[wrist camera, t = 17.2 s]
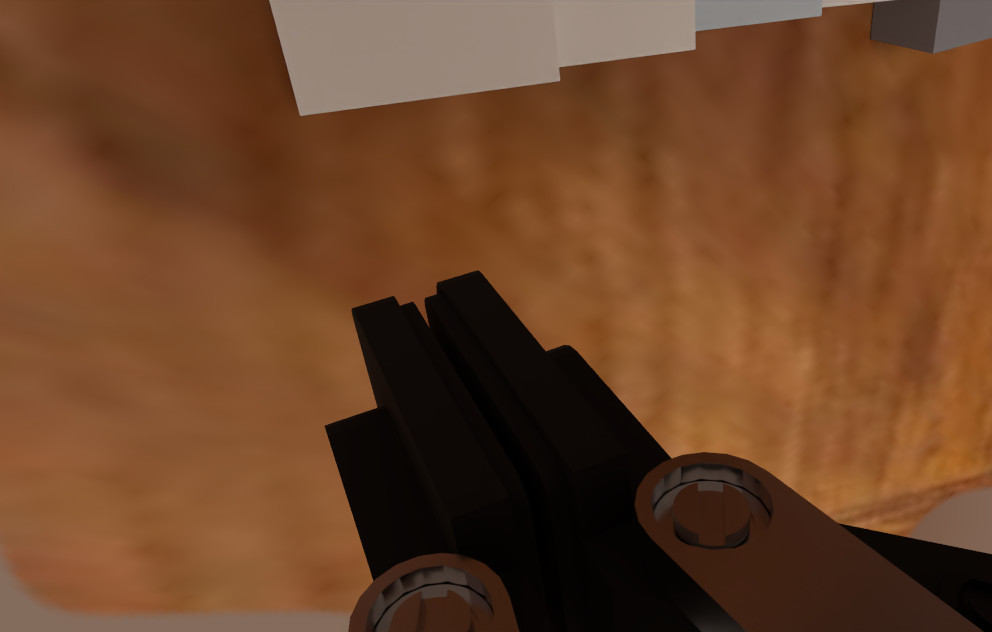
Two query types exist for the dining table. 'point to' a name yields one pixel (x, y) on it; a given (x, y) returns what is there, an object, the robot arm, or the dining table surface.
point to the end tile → (412, 49)
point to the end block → (932, 23)
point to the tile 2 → (621, 29)
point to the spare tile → (751, 12)
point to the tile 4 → (846, 2)
